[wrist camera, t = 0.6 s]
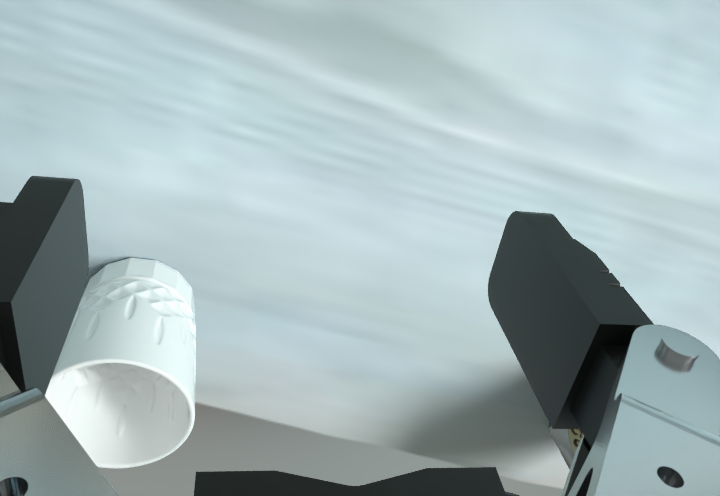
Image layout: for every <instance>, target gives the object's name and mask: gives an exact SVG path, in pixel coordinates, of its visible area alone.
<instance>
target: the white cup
mask: <svg viewBox="0 0 720 496" xmlns="http://www.w3.org/2000/svg"><path fill="white" fill-rule="evenodd" d="M195 382H196V325H195V303H194V298H193V292H192V287H191V286H190V285H189V284H188V283H187V281H186V280H185V279H184V278H183V277H182V275H181V274H180V273H179V272H178V271H177V270H175V269H173V268H171V267H169V266H167V265H165V264H163V263H161V262H159V261H157V260H149V259H139V258H128V259H124V260H120V261H117V262H113V263H110V264H107V265H105V266H104V267H103V268H102V269H101V270H100V271H98V272H97V273H96V274H95V275H94V276H93V277H91V278H90V280H89V282H88V284H87V287H86V289H85V291H84V294H83V296H82V298H81V301H80V303H79V306H78V309H77V311H76V314H75V317H74V319H73V322H72V325H71V327H70V330H69V333H68V335H67V338H66V341H65V343H64V346H63V349H62V351H61V354H60V356H59V359H58V362H57V364H56V367H55V370H54V372H53V375H52V378H51V380H50V383H49V386H48V388H47V391H46V394H45V397H46V398H47V400H48V401H49V402H50V404H51V405H52V406H53V408H54V409H55V410H56V412H57V413H58V415H59V416H60V417H61V419H62V420H63V421H64V423H65V424H66V425H67V427H68V428H69V429H70V431H71V432H72V434H73V435H74V436H75V438H76V439H77V440H78V442H79V443H80V444H81V446H82V447H83V448H84V450H85V451H86V453H87V454H88V455H89V457H90V458H91V459H92V461H93V462H94V463H95V465H96V466H97V467H103V468H129V467H136V466H141V465H145V464H149V463H152V462H155V461H157V460H159V459H162V458H163V457H166V456H167V455H169V454H171V453H172V452H174V451H175V450H176V449H177V448H179V447H180V446H181V445H182V444H183V443H184V441H185V440H186V439H187V437H188V436H189V434H190V432H191V430H192V428H193V425H194V419H195Z"/></svg>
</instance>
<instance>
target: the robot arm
mask: <svg viewBox="0 0 720 496" xmlns="http://www.w3.org/2000/svg"><path fill="white" fill-rule="evenodd" d="M87 276H88V245H87V234H86V222H85V210H84V198H83V189H82V185H81V182H80V180H78V179H69V178H55V177H41V176H31V177H30V178H29V180H28V181H27V183H26V184H25V186H24V187H23V189H22V190H21V192H20V193H19V195H18V196H17V198H16V199H15V201H14V202H13V203H6V202H0V496H118V495H117V493H116V492H115V491H114V489H113V488H112V487H111V485H110V484H109V482H108V481H107V480H106V478H105V477H104V476H103V474H102V473H101V472H100V470H99V469H98V468H97V466H96V465H95V463H94V462H93V461H92V459H91V458H90V457H89V455H88V454H87V453H86V451H85V450H84V448H83V447H82V446H81V444H80V443H79V442H78V440H77V439H76V438H75V436H74V435H73V434H72V432H71V431H70V429H69V428H68V427H67V425H66V424H65V423H64V421H63V420H62V419H61V417H60V416H59V415H58V413H57V412H56V410H55V409H54V408H53V406H52V405H51V404H50V402H49V401H48V400H47V398H46V397H45V394H46V391H47V388H48V386H49V383H50V380H51V378H52V375H53V372H54V370H55V367H56V364H57V362H58V359H59V356H60V354H61V351H62V349H63V346H64V343H65V341H66V338H67V335H68V333H69V330H70V327H71V325H72V322H73V319H74V317H75V314H76V311H77V309H78V306H79V303H80V301H81V298H82V295H83V293H84V290H85V287H86V282H87ZM488 296H489V302H490V305H491V308H492V310H493V312H494V314H495V316H496V318H497V320H498V322H499V324H500V326H501V328H502V329H503V331H504V333H505V335H506V337H507V339H508V341H509V343H510V345H511V347H512V349H513V351H514V353H515V355H516V357H517V359H518V361H519V363H520V365H521V367H522V369H523V371H524V373H525V375H526V377H527V379H528V381H529V383H530V385H531V387H532V389H533V391H534V393H535V395H536V397H537V399H538V401H539V403H540V405H541V407H542V409H543V411H544V413H545V415H546V417H547V419H548V420H549V422H550V424H551V426H552V428H553V429H581V431H582V433H583V437H582V439H581V441H580V443H579V445H578V447H577V450H576V452H575V456H574V459H573V462H572V465H571V468H570V471H569V474H568V477H567V480H566V483H565V486H564V489H563V492H562V495H561V496H720V360H719V358H718V357H717V355H716V354H715V353H714V352H713V351H712V350H711V349H710V348H709V347H708V346H706V345H705V344H704V343H702V342H701V341H699V340H698V339H696V338H695V337H693V336H691V335H689V334H687V333H685V332H683V331H680V330H677V329H675V328H671V327H667V326H662V325H654V324H653V323H652V321H651V320H650V319H649V318H648V317H647V315H646V314H645V313H644V312H643V311H642V309H641V308H640V307H639V306H638V304H637V303H636V302H635V301H634V300H633V298H632V297H631V296H630V295H629V293H628V292H627V291H626V290H625V289H624V287H620V283H619V281H618V280H617V279H616V278H615V276H614V275H613V274H612V273H609V269H608V268H607V267H606V266H605V264H604V263H603V262H602V261H601V259H600V258H599V257H598V256H597V255H596V254H595V253H594V252H592V251H591V250H590V249H588V248H587V247H585V246H584V245H582V244H581V243H580V242H578V241H577V240H575V239H573V238H572V237H571V236H570V235H569V233H568V232H567V231H566V230H565V228H564V227H563V226H562V224H561V223H560V222H559V221H558V219H557V218H556V217H555V216H554V215H553V214H549V213H535V212H520V211H515V212H513V213H512V214H511V215H510V217H509V218H508V220H507V223H506V226H505V229H504V232H503V235H502V239H501V242H500V245H499V248H498V251H497V254H496V258H495V261H494V264H493V267H492V270H491V273H490V277H489V283H488ZM194 496H519V495H516V494H513V493H509V492H505V491H504V488H503V486H502V483H501V481H500V478H499V475H498V473H497V470H496V467H482V468H427V469H423V470H419V471H415V472H412V473H408V474H404V475H400V476H396V477H393V478H389V479H385V480H381V481H377V482H374V483H370V484H366V485H361V486H347V485H342V484H338V483H333V482H328V481H323V480H318V479H313V478H308V477H302V476H298V475H294V474H289V473H284V472H279V471H226V472H196V480H195V490H194Z"/></svg>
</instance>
